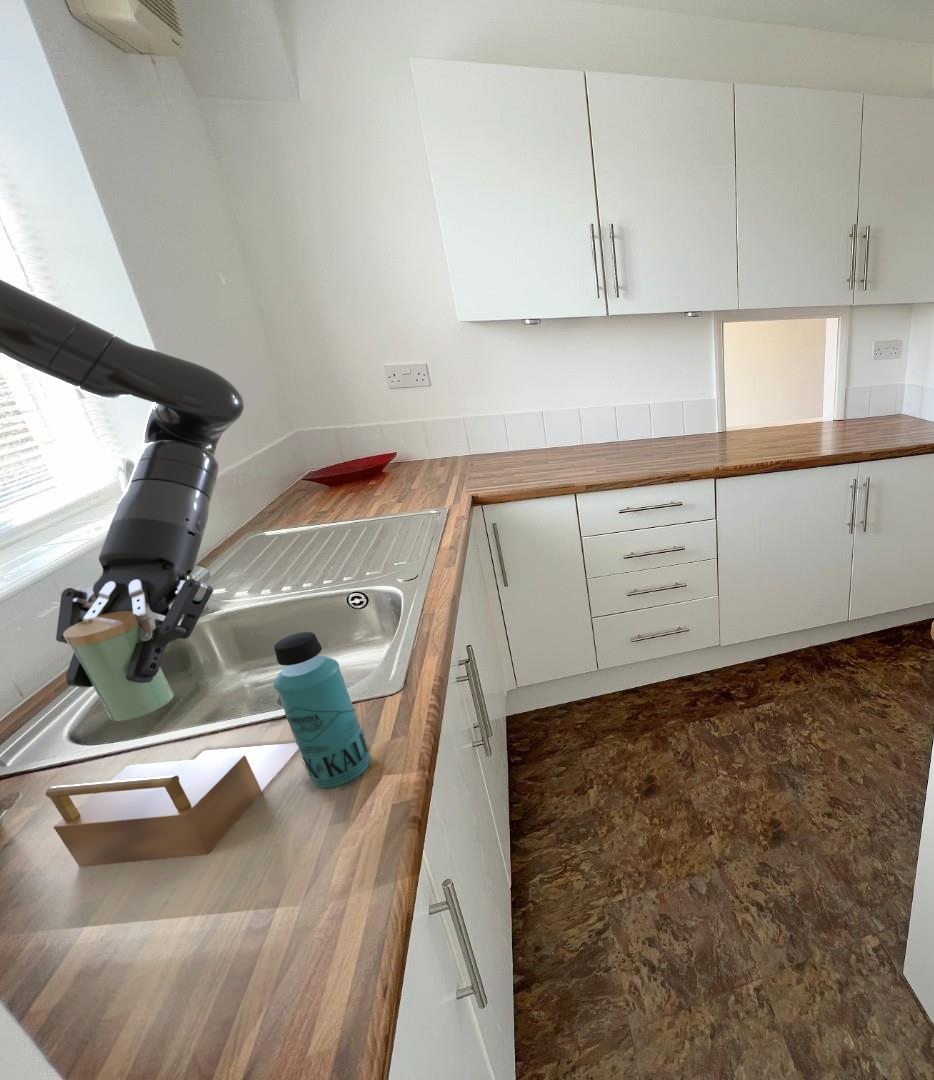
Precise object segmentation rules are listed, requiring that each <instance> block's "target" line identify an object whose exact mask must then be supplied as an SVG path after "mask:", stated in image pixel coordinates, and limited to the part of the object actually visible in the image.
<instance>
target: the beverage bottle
mask: <svg viewBox="0 0 934 1080" xmlns="http://www.w3.org/2000/svg"><path fill="white" fill-rule="evenodd" d="M273 649H274V653H275V657H276V662H277V663H278V665H280V666H284V667H283V668H282V669H281V670H280V672H279V673H278V674H277V676H276V677H275V679H274V681H273V687H274V690H275V691H276V693H277V696H278V698H279V701H280V703H281V706H282V708H283V710H284V711H283V712H284V714H283V716H284V717H285V719H286V722H287V723H288V725H289V727H290V728H289V727H288V728H289V730H290V731H291V735H292V736H293V738H294V743H297V744H296V746H297V745H298V747H299V750H298V751H299V753H300V755H299V756H300V757H299V758H301V759H302V760H301V762H302V764H303V766H304V769H305V772H306V774H307V775H308V776H309V778H310V781H311V783H312V784H314V785H315V786H316V787H318V788H320V789H321V788H322V789H331V788H337V787H340V786H343V785H345V784H348V783H349V782H351V781H353V780H355V779H357V778H358V777H360V775H361V774H363V773H364V771H366V769H368V767H369V764H370V760H371V757H372V756H371V755H372V754H371V750H370V748H369V744H368V743H367V739H366V738H365V733H364V730H363V728H362V725H361V724H360V722H359V718H358V715H357V713H356V711H357V708H356V709H355V708H354V706H353V703H352V700H351V697H350V694H349V692H348V689H347V686H346V683H345V680H344V677H343V674H342V672H341V669H340V664H339V662H338V661H337V660H336V659H334V658H332V657H328V656H324V655H319V654H320V653H321V652H322V649H323V648H322V645H321V643H320V641H319V639H318V637H317V636H316V634H315V632H312V631H303V632H297V633H293V634H290V635H287V636H285V637H283V638H281V639H279V640H278V641H276V643H275V644H274V646H273Z"/></svg>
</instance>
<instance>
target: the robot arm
mask: <svg viewBox="0 0 934 1080" xmlns="http://www.w3.org/2000/svg"><path fill="white" fill-rule="evenodd" d="M0 354H1V355H3V356H4V357H6V358H8V359H11V360H13V361H15V362H17V363H18V364H21V365H23V366H25V367H27V368H30V369H32V370H33V371H36V372H38V373H40V374H43V375H46V376H48V377H50V378H52V379H55V380H56V381H60V382H61V383H64V384H66V385H69V386H71V387H73V388H75V389H79V390H80V391H83V392H85V393H87V394H90V395H93V396H96V397H99V398H101V399H102V398H103V399H107V400H113V399H118V398H121V397H125V396H131V397H134V398H138V399H142V400H144V401H148V402H150V403H152V405H151V407H150V410H149V412H148V416H147V419H146V422H145V427H144V432H143V439H142V450H141V451H140V454H139V456H138V457H137V460H136V462H135V465H134V468H133V471H132V474H131V476H130V479H129V481H128V485H127V487H126V488H125V491H124V493H123V494H122V496H121V498H120V499H119V502H118V504H117V506H116V508H115V511H114V514H113V517H112V520H111V522H110V525H109V528H108V530H107V534H106V536H105V539H104V542H103V545H102V547H101V549H100V553H99V555H98V561H99V563H100V565H101V568H102V574H101V575H100V577H99V578H98V579H97V580H96V581H95V582H94V584H93V586H91V587H87V588H83V589H76V588H72V587H68V588H65V589H64V590H63V591H62V592H61V594H60V595H61V596H60V602H59V609H58V610H59V611H58V617H57V618H58V619H57V625H56V626H57V628H56V635H55V640H56V641H57V642H58V643H59V642H60V643H64V644H67V645H69V644H68V643H67V641H66V639H65V638H64V636H63V633H64V631H65V630H67V629H68V628H70V627H71V626H73V625H75V624H77V623H79V622H82V621H84V620H87V619H90V618H93V617H97V616H99V615H103V614H107V613H112V612H117V611H133V614H135V615H136V619H137V621H138V622H139V624H138V627H139V638H140V640H141V641H142V643H136V645H135V648H134V651H133V655H132V658H131V661H130V664H129V667H128V671H127V674H126V679H127V680H128V681H133V682H138V683H147V682H151V681H152V679H153V676H155V675H156V674H157V672H158V670H159V667H161V664H162V660H163V657H164V652H165V649H166V647H168V646H169V645H171V643H172V642H173V641H176V640H178V639H181V640H186V639H188V638H189V637H190V636H191V635H192V633H193V631H194V628H195V627H196V625H197V623H198V621H199V619H200V617H201V616H202V613H203V611H204V609H205V608H206V606H207V603H208V602H209V600H210V597H211V595H212V594H213V592H214V588H213V586H211V585H208V584H206V583H205V582H202V581H200V580H196V579H193V578H188V579H187V577H189V576H190V575H192V573H193V572H194V570H195V566H196V563H197V558H198V555H199V552H200V549H201V544H202V541H203V538H204V534H205V531H206V527H207V524H208V519H209V512H210V511H209V509H210V503H211V500H212V497H213V493H214V491H215V490H214V489H215V486H216V481H217V479H218V474H219V463H218V460H217V458H216V457H215V454H216V450H217V446H218V443H219V441H220V439H221V437H222V435H223V434H224V433H225V432H226V431H227V430H228V429H229V428H230V427H231V426H232V425H233V424H235V422H237V421H238V420H239V419H240V417H241V416H242V414H243V412H244V409H245V401H244V399H243V396H242V394H241V392H240V391H239V390H238V388H237V387H236V386H235V385H234V384H233V383H232V382H231V381H229V380H228V379H227V378H225V377H224V376H222V375H221V374H219V373H217V372H216V371H214V370H212V369H210V368H208V367H206V366H203V365H200V364H197V363H194V362H191V361H189V360H185V359H182V358H179V357H176V356H173V355H170V354H167V353H163V352H161V351H158V350H155V349H150V348H146V347H144V346H143V347H142V346H140V345H136V344H133V343H131V342H128V341H126V340H125V339H123V338H121V337H119V336H117V335H114V334H113V333H110V332H108V331H107V330H105V329H104V328H101V327H99V326H97V325H95V324H93V323H91V322H89V321H87V320H84V319H83V318H81V317H78V316H77V315H74V314H73V313H70V312H68V311H66V310H64V309H62V308H60V307H58V306H56V305H54V304H53V303H49V302H48V301H45V300H43V299H41V298H39V297H37V296H36V295H33V294H31V293H29V292H27V291H25V290H23V289H20V288H18V287H17V286H15V285H12V284H11V283H8V282H6V281H5V280H2V279H0ZM182 617H183V619H182ZM181 619H182V620H181ZM180 621H181V622H180ZM65 679H66V684H67V685H68V686H71V687H77V688H83V689H84V688H92V687H93V685H92V683H91V682H90V680H89V678H88V676H87V674H86V673H85V671H84V669H83V667H82V665H81V663H80V662H79V660H78V658H77V656H76V654H75V653H74V652H73V654H72V657H71V659H70V662H69V665H68V669H67V671H66V673H65ZM93 688H94V687H93Z"/></svg>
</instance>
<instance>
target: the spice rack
mask: <svg viewBox="0 0 934 1080" xmlns="http://www.w3.org/2000/svg"><path fill="white" fill-rule="evenodd" d="M296 744H297V742H289V743H278V744H266V745H255V746H245V747H244V746H242V747H232V748H231V747H230V748H221V749H210V750H203V751H202V752H201V753H200V754H199V755H198V756H197V757H196V758H194V759H184V760H173V761H172V760H171V761H162V762H161V761H160V762H151V763H138V764H129V765H127V766H125V767H124V768H123V769H121V770H120V771H119V772H118V773H117V774H115V775H114V776H113V777H112V778H111V779H109V780H108V781H99V782H88V783H87V782H86V783H75V784H66V785H65V784H64V785H55V786H50V787H48V788H47V789H46V791H45V796H46V797H47V798H49V799H50V800H51V802H52V803H53V805H54V806H55V808H56V810H57V811H58V813H59V814H60V816H61V817H62V819H61V820H59V821H58V822H57V823H56V824H55V825H54V826H53V829H54V830H55V832H56V833H57V835H58V837H59V838H60V840H61V841H62V843H63V844H64V846H65V847H66V849H67V850H68V852H69V854H70V855H71V857H72V858H73V859H74V861H75V863H76V864H77V866H78V867H79V868H82V867H91V866H93V867H94V866H101V865H112V864H123V863H124V864H125V863H134V862H145V861H156V860H166V859H176V858H187V857H196V856H207V855H209V854H210V853H211V852H212V850H213V849H214V848H215V847H216V846H217V845H218V844H219V842H221V840H223V838H224V837H225V836H226V835H227V833H228V832H229V831H230V830H231V829H232V828H233V826H235V824H236V823H237V822H238V821H239V820H240V819H241V817H242V816H243V815H244V814H245V813H246V812H247V810H248V809H249V808H250V807H251V806H252V805H253V804H254V802H255V801H256V800H257V799H258V798H259V796H260V795H261V794H262V793H263V791H265V790H266V788H267V787H268V786H269V785H270V784H271V782H272V781H273V780H274V779H275V778H276V777H277V775H278V774H280V772H281V771H282V770H283V769H284V768H285V766H286V765H287V764H288V763H289V762H290V761H291V760H292V758H293V757H294V756H295V755H296V754H297V753H298V752H299V751H300V750H299V747H298V745H297V746H296ZM81 795H90V796H89V797H88V798H86V799H85V800H84V801H82V802H81V803H80V804H79V805H77V807H76V805H75V804H74V802H73V800H72V798H71V797H72V796H81ZM70 796H71V797H70Z"/></svg>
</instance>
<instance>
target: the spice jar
mask: <svg viewBox="0 0 934 1080" xmlns="http://www.w3.org/2000/svg"><path fill="white" fill-rule="evenodd" d="M138 624H139V622H138V621H137V619H136V615H135V614H133V611H117V612H112V613H107V614H103V615H99V616H97V617H93V618H90V619H87V620H84V621H82V622H79V623H77V624H75V625H73V626H71V627H70V628H68V629H67V630H65V631H64V633H63V636H64V638H65V639H66V641H67V643H68V644H67V643H66V644H67V645H69V646H70V647H71V649H72V651H73V654H74V653H75V654H76V656H77V658H78V660H79V662H80V663H81V665H82V667H83V669H84V671H85V673H86V674H87V676H88V678H89V680H90V682H91V683H92V685H93V689H94V691H95V692H96V695H97V696H98V698H99V700H100V701H101V704H102V705H103V707H104V709H105V711H106V712H107V714H108V716H109V718H110V719H111V721H115V722H123V721H129V720H134V719H137V718H141V717H143V716H146V715H148V714H151V713H153V712H154V711H157V710H159V709H161V708H162V707H164V706H165V705H167V704H168V703H169V702H170V701H171V700H172V699H173V697H174V695H175V694H174V691H173V690H172V688H171V685H170V683H169V682H168V680H167V678H166V676H165V673H164V671H163V670H162V668H161V666H160V667H159V670H158V672H157V674H156V675H155V676H153V679H152V681H151V682H147V683H138V682H133V681H128V680H127V679H126V674H127V671H128V667H129V664H130V661H131V658H132V655H133V651H134V648H135V645H136V643H142V641H141V640H140V638H139V627H138Z"/></svg>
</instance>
